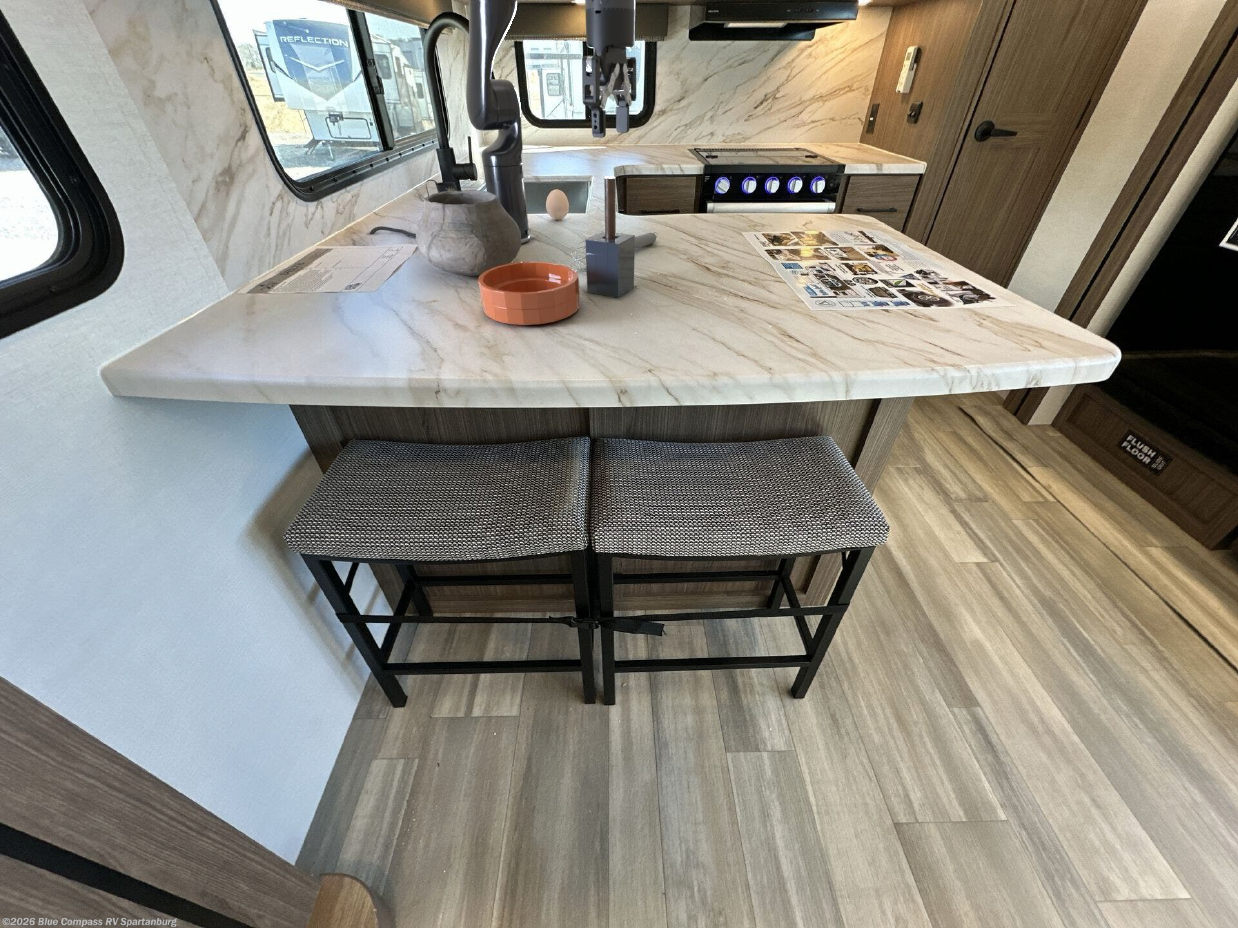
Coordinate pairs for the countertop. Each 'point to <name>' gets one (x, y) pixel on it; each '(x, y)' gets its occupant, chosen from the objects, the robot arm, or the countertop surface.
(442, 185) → the mug
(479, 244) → the clay pot
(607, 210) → the stirring stick
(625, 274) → the block
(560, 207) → the egg
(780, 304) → the countertop surface
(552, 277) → the bowl
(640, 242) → the kitchen whisk
